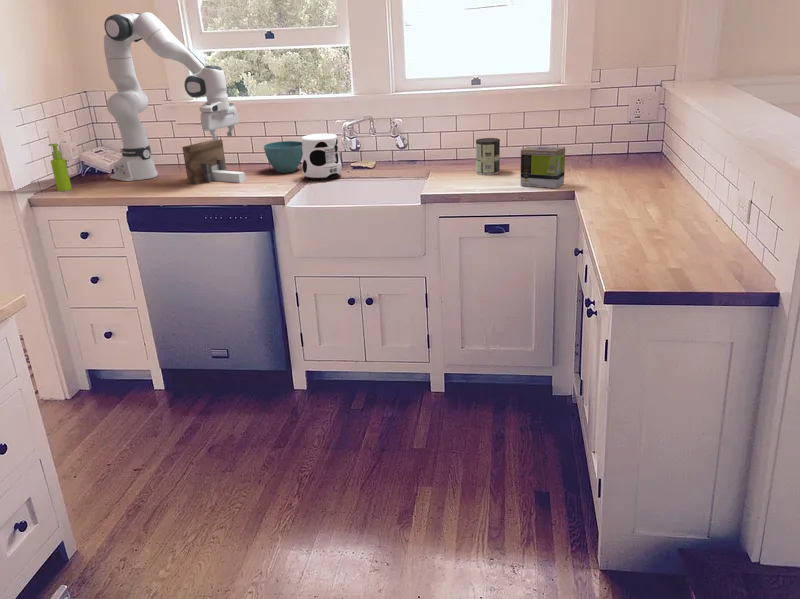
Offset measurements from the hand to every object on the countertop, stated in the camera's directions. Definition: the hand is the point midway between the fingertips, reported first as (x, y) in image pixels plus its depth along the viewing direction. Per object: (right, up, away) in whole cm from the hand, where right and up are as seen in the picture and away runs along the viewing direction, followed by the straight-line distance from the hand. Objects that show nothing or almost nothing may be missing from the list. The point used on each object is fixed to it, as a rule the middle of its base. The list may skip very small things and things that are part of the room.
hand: (222, 138), depth 304 cm
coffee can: (+115, -15, -1) cm, 116 cm away
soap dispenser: (-72, -22, +6) cm, 75 cm away
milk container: (+43, -17, +5) cm, 46 cm away
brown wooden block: (-8, -16, +12) cm, 22 cm away
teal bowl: (+24, -11, +21) cm, 34 cm away
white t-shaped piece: (+1, -17, +7) cm, 19 cm away
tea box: (+134, -25, -26) cm, 139 cm away
